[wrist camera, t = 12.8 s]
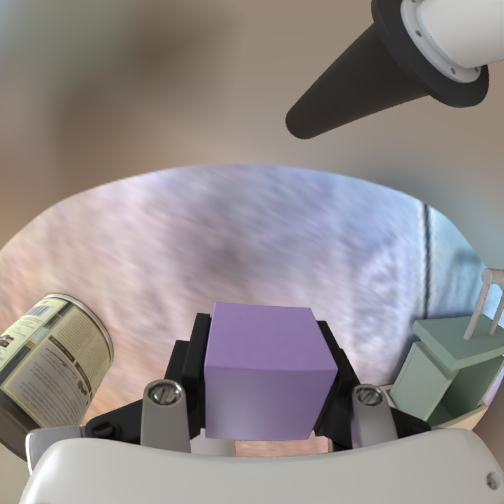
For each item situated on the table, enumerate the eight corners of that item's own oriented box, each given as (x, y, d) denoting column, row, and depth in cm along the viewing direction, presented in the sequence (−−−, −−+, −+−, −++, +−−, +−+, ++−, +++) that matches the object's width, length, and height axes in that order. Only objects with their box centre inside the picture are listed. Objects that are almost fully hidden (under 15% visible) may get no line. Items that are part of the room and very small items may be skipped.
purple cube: (214, 301, 11) (203, 365, 7) (310, 307, 11) (339, 369, 7) (211, 372, 12) (204, 438, 8) (293, 376, 12) (308, 439, 9)
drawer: (435, 250, 21) (489, 278, 14) (501, 260, 22) (541, 280, 15) (369, 417, 27) (390, 459, 20) (441, 398, 28) (464, 429, 21)
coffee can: (83, 385, 24) (36, 474, 11) (25, 319, 22) (-47, 391, 8) (134, 356, 23) (84, 475, 10) (64, 273, 20) (-38, 357, 7)
